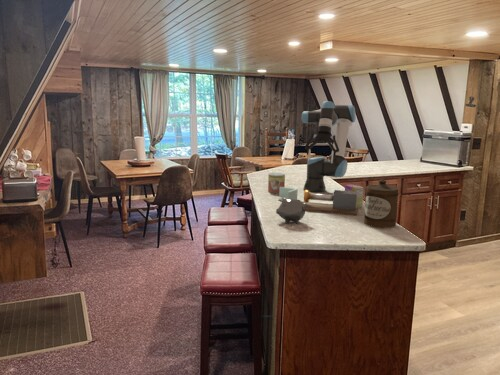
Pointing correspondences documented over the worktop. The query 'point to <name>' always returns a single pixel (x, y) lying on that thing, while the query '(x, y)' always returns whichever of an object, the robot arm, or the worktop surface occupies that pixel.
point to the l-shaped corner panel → (287, 193)
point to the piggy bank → (291, 210)
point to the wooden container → (381, 205)
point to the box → (359, 193)
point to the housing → (344, 200)
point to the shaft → (316, 196)
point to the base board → (327, 208)
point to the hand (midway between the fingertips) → (319, 161)
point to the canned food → (275, 182)
